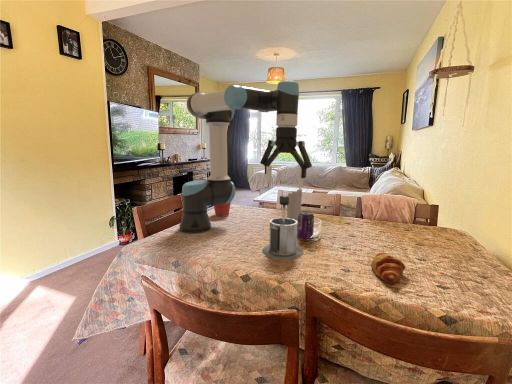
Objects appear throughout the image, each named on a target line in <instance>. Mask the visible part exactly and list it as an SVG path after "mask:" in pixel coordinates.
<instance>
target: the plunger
mask: <svg viewBox="0 0 512 384" xmlns="http://www.w3.org/2000/svg"><path fill="white" fill-rule="evenodd" d="M278 203H279V205H282V217H281V218H282V225H285V218H286V206H287V205H288V204H289V196H288V195H280V196H279V202H278Z"/></svg>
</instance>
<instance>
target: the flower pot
mask: <svg viewBox="0 0 512 384" xmlns="http://www.w3.org/2000/svg"><path fill="white" fill-rule="evenodd" d="M231 203H232V201H231V202H230V203H226V204H223V205H222V204H220V205H213V210H214V213H215V214H214V215H215V217H220V216H221V217H222V216H223V217H227V216H229V215H230V209H231V205H232V204H231Z"/></svg>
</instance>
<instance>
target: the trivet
mask: <svg viewBox="0 0 512 384" xmlns="http://www.w3.org/2000/svg"><path fill="white" fill-rule="evenodd" d="M296 249H297V253H296V254H295V255H293V256H288V257H281V256H275V255H273V254H271V253H270V252H269V245H266V246H263V248H262V250H261V251H262V254H263V255H264V256H266V257H268V258H271V259H274V260H280V261H281V260H282V261H283V260H284V261H286V260H287V261H288V260H290V261H291V260H295V259H299V258H300V257H302V256H303V255H304V251H303V250H304V249H301V248H300V247H298V246H297V248H296Z"/></svg>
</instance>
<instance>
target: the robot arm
mask: <svg viewBox="0 0 512 384" xmlns="http://www.w3.org/2000/svg"><path fill="white" fill-rule="evenodd" d="M299 89H300V85H299V83H298V82H297V81H296V80H280V81H279V82H278V83H277V88H276V89H272V90H266V89H262V88H261V89H259V88H254V87H248V86H242V85H240V84H239V85H238V84H231V85H228V86H227V88H225V89H224V90H218V91H217V90H216V91H212V92H206V93H204V92H195V93H191V94H190V95H189V97H188V98H187V100H186V108H187V111H188V113H189V114H191V115H192V116H193V117H194V118H197V119H199V120H200V119H201V120H202V119H203V120H205V124H206V125H207V126H208V129H209V130H208V131H209V133H208V134H209V161H210V162H209V170H210V172H209V174H210V175H209V176H208V178H207V181H206V180H202V179H200V180H198V179H197V180H192V181H191V180H190V181H188V182H185V183H184V184H183V185H182V186H181V187H182V189H181V198H182V215H181V221H180V223H179V232H182V233H187V234H199V233H205V232H208V231H210V230H211V229H212V223H211V221H210V218H209V215H208V207H211V206H213V207H214V205H220V204H222V205H223V204H226V203H230V202H231V203H232V201H234V198H235V196H236V186H235V183H234V182H233V181H231V177H230V176H229V175H228V137H227V136H228V131H227V130H228V129H227V128H228V126H229V125H230V122H231V121H232V120H233V119H234V116H235V112H236V110H250V111H258V112H260V113H270V112H276V124H275V125H276V126H277V127H276V128H275V137H276V139H275V140H273V139H268V142H267V146H266V149H265V151H264V153H263V155H262V158H261V159H260V161H259V164H261V165H263V166H264V175H265V183H266V184H271V183H272V176H273V175H272V174H273V173H272V168H273V166H272V165H271V164H272V163H273V162H274V161H275V159H276V158H277V157H278V156H279V155H280V154H284V153H285V154H290V155H292V157H293V158H294V160H295V161H296V163H297V164H298V166H299V167H300V168H299V169H298V181H297V182H298V185H297V188H298V189H299V188H303V187H304V179H306V177H307V170H308V169H310V168H312V164H313V163H312V162H311V159H310V156H309V154H308V151H307V149H306V145H305V144H306V143H305V140H299V141H297V136H298V135H297V132H298V128H297V126H298V117H299V116H298V113H299V112H298V111H299V97H300V91H299ZM274 147H276V148H275V149H274V150H273V148H274ZM296 147H297V148H298V150H299V152H300V154H301V155H300V154H299V152H298V150H297V149H296ZM272 151H273V152H272Z"/></svg>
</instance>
